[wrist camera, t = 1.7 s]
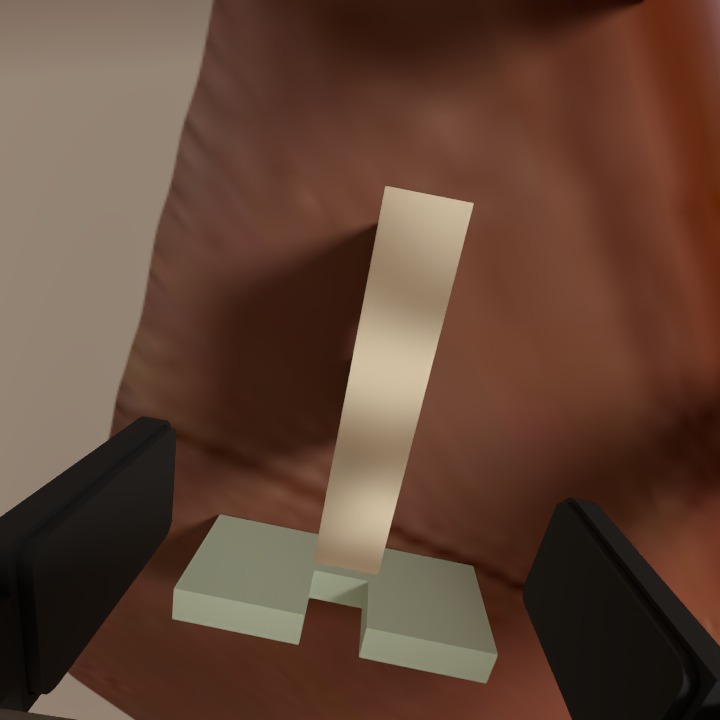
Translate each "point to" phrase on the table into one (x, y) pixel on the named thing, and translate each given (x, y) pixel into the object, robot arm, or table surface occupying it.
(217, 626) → the slotted base
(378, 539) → the maple plate
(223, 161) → the table surface
